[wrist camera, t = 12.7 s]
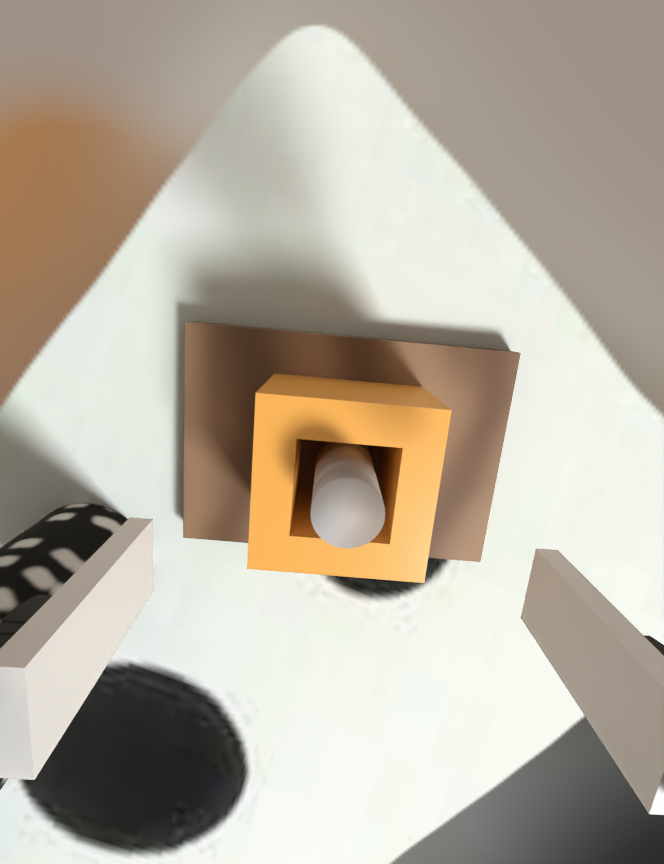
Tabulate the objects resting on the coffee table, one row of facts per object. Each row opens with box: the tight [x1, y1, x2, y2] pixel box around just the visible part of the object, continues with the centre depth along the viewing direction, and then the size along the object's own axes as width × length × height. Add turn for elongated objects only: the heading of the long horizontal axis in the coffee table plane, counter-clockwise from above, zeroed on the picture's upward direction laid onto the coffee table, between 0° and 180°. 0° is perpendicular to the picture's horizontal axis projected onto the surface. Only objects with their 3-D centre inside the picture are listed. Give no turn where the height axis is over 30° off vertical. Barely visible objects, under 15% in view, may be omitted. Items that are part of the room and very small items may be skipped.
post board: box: [183, 322, 520, 562], centre depth 25 cm, size 20×14×11 cm
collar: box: [247, 374, 452, 583], centre depth 25 cm, size 9×9×7 cm
